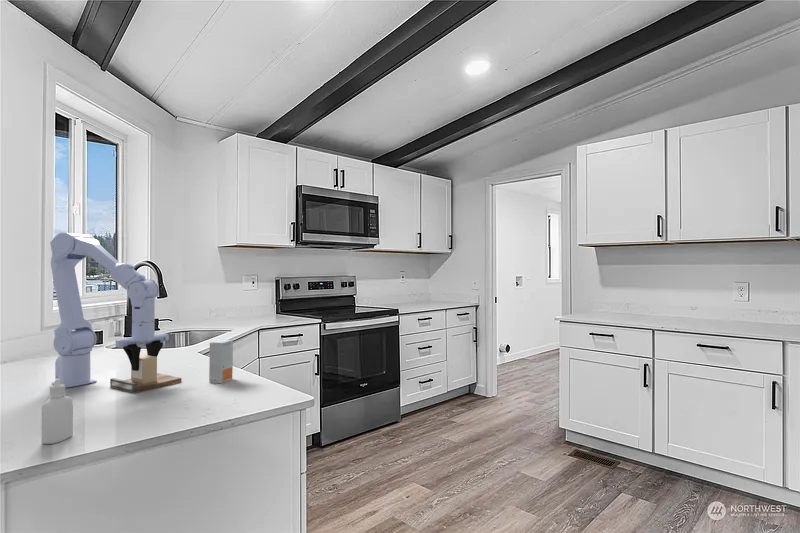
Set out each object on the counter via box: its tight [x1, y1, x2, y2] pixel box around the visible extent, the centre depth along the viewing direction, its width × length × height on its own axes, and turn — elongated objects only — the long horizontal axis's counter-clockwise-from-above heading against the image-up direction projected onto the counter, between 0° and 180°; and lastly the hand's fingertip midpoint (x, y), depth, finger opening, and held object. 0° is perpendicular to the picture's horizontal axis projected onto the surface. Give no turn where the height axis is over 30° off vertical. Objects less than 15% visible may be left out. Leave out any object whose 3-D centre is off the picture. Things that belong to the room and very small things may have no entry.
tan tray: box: [109, 372, 182, 394], centre depth 134 cm, size 12×14×2 cm
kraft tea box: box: [130, 354, 158, 384], centre depth 133 cm, size 4×6×7 cm, turn 59°
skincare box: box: [208, 339, 234, 384], centre depth 139 cm, size 6×4×12 cm
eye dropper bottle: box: [41, 378, 74, 445], centre depth 92 cm, size 4×6×12 cm
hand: (143, 368), depth 134 cm, fingers closed on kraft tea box, 4 cm apart
